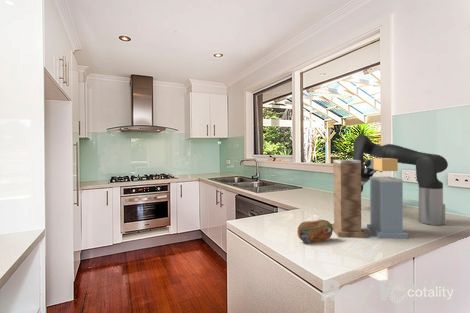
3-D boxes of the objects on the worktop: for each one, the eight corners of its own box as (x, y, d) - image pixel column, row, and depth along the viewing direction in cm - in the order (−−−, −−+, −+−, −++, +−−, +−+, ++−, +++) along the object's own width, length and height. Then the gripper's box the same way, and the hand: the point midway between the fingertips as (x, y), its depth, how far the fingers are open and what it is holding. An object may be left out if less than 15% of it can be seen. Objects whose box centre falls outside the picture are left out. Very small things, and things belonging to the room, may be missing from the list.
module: (377, 167, 117) (377, 157, 117) (397, 171, 99) (397, 159, 99) (364, 167, 118) (364, 157, 118) (382, 171, 100) (382, 159, 100)
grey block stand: (392, 229, 109) (392, 176, 108) (408, 238, 97) (407, 179, 96) (366, 228, 110) (366, 176, 110) (379, 238, 98) (378, 179, 98)
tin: (300, 244, 94) (300, 223, 93) (296, 241, 97) (296, 221, 96) (333, 240, 98) (333, 219, 97) (328, 237, 101) (328, 217, 100)
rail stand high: (355, 228, 111) (354, 159, 110) (366, 237, 99) (365, 160, 98) (330, 227, 112) (330, 159, 112) (338, 237, 101) (337, 161, 100)
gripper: (347, 169, 131) (357, 154, 116) (375, 169, 129) (389, 153, 114) (349, 182, 127) (360, 168, 112) (378, 182, 125) (393, 168, 110)
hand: (375, 161), depth 113 cm, fingers closed on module, 4 cm apart
